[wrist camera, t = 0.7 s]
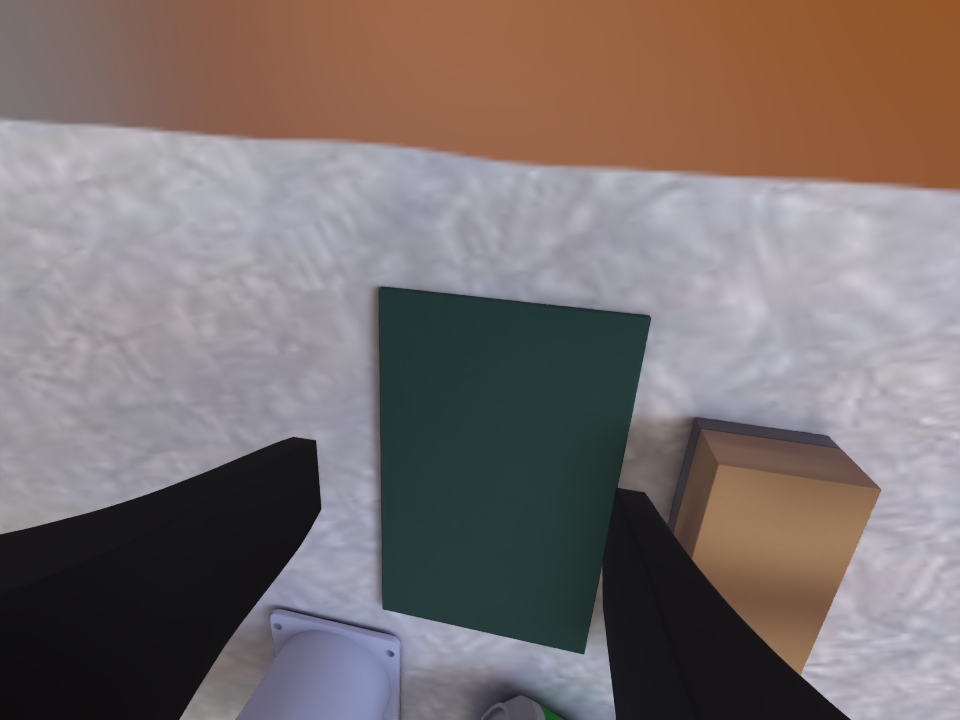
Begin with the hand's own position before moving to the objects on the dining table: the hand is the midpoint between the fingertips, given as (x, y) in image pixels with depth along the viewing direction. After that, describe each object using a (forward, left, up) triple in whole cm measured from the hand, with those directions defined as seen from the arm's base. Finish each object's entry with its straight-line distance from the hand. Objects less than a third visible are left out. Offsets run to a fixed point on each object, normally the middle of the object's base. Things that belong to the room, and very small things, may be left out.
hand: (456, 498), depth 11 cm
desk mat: (-6, 0, -10) cm, 12 cm away
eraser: (-7, -10, -10) cm, 16 cm away
